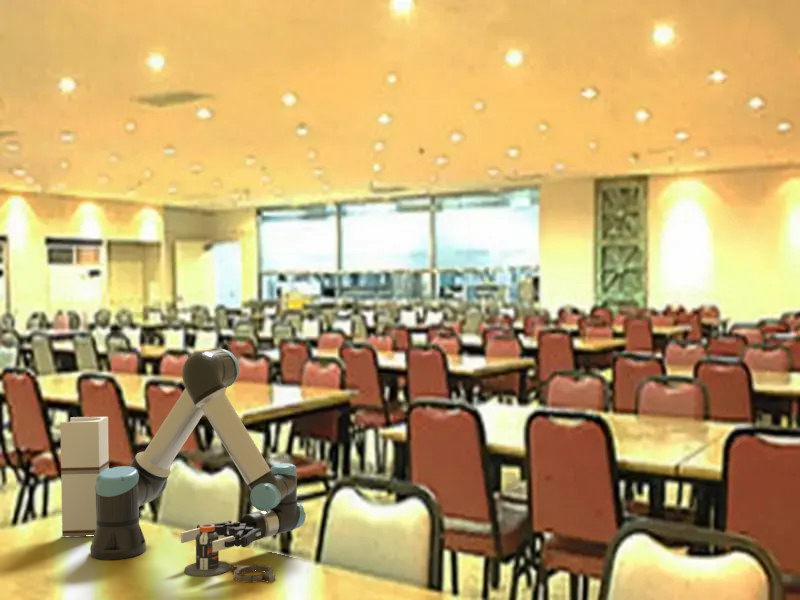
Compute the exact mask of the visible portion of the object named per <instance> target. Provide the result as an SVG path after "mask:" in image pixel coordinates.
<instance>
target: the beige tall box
mask: <svg viewBox="0 0 800 600" xmlns="http://www.w3.org/2000/svg"><path fill="white" fill-rule="evenodd" d="M59 424H60V426H59V427H60V428H59V429H60V431H59V432H60V475H61V476H60V477H61V483H60V484H61V537H62V536H86V535H94V534H95V530H96V491H95V485H96V478H97V476H98V474H99V473H101V472H102V471H104V470H106V469H109V468H110V461H109V456H110V454H109V453H110V451H109V416H90V417H89V416H76V417H75V416H73V417H70V421H60V423H59Z"/></svg>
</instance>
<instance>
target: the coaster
mask: <svg viewBox="0 0 800 600" xmlns="http://www.w3.org/2000/svg"><path fill="white" fill-rule="evenodd" d="M229 569H231V564H230V563H229V562H226V561H222V560H219V565H218V567H217V568H216V569H213V570H199V569H197V568H196V562H194V563H190V564H189V565H186V566H185V567H184V573H185V574H186V575H188V576H193V577H212V575H214V576H218V574H219V575H222V573H223V574H225V573H227V572H228V570H229ZM229 571H230V570H229ZM224 572H225V573H224Z"/></svg>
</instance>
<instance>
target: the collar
mask: <svg viewBox="0 0 800 600" xmlns="http://www.w3.org/2000/svg"><path fill="white" fill-rule="evenodd" d="M255 570H256V571H255ZM233 571H234V572H233ZM248 571H253V572H260V571H265V572H266V573H265V572H262V573H261V574H260V573H259V574H253V575H252V574H245V573H244V572H246V573H249V572H248ZM232 572H233V579H234V580H235V579H237V580H236V581H238V580H239V581H238V582H241V581H245V582H244V583H254V582H253V581H258V582H266V581H268V582H267V583H269V582H270V583H272V582H271V581H273V580H275V581H276V574H274V569H273V567H272V566H269V565H266V564H249V565H242V564H235V565H232ZM242 573H243V574H242ZM262 580H264V581H262ZM273 582H274V581H273Z"/></svg>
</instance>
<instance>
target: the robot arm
mask: <svg viewBox="0 0 800 600" xmlns="http://www.w3.org/2000/svg"><path fill="white" fill-rule="evenodd" d="M181 371H182V373H181V378H182V381H183V384H184V389H183V391H182V392H181V394H180V396H179V397H178V399H177V401H176V402H175V404H174V405H173V407H172V408H171V410H170V411H169V413H168V414H167V416H166V417H165V418H164V421H163V422H162V424H161V425H160V427H159V428H158V430H157V431H156V433H155V434H154V436H153V438H152V439H151V440H150V442H149V444H148V445H147V447H146V449H145V450H144V451H140V452H138V453H136V454H135V456H134V458H133V459H132V460H131V463H129V466H128V465H127V466H125V465H122V466H114V467H112V468H110V467H109V469H106V470H104V471H102V472H101V473H99V474H98V476H97V478H96V485H95V491H96V530H95V534H94V537H92V540H91V541H92V542H91V544H90V547H89V550H90V553H89V554H90V556H91V557H92V558H94V559H97V560H111V561H112V560H121V559H128V558H129V559H130V558H134V557H137V556H139V555H141V554H143V553H145V552H146V550H147V548H146V547H147V546H146V545H147V544H146V543H147V542H146V539H145V537H144V534H143V530H142V528H141V525H140V509H139V508H140V507H141V506H144V505H145V504H149V503H150V502H153V501H155V500H156V499H157V498H159V497H160V496H162V494H163V493H164V491H165V490H166V488H167V486H168V485H167V484H168V478H169V476H170V475H171V472H172V471H171V468H170V466H171V465H172V463H173V461H174V460H175V458H176V457H177V455H178V454H179V452H180V451H181V449H182V448H183V446H184V444H185V443H186V442H187V440H188V438H189V436H190V435H191V434H192V432H193V430H194V429H195V428H196V426H197V425H198V423H199V422H200V421H201V420H200V419H202V417H203V415H205V416H206V419H207V420H208V422H209V423H210V425H211V427H212V428H213V429H214V432H215V433H216V435H217V436H218V439H219V440H220V441H221V443H222V445H223V446H224V448H225V450H226V452H227V453H228V455H229V456H230V458H231V460H232V461H233V463H234V465H235V466H236V468H237V470H238V471H239V473H240V475H241V477H242V478H243V480H244V482H245V483H246V485H247V486H248V488H249V490H250V493H249V494H250V496H249V497H250V498H249V499H250V504H251V505H252V506H253V508H255V509H256V510H258V511H257V512H251V513H247V514H245V515H243V516H242V518H241V519H240V521H234V522H232V521H231V520H228V521H223V522H217V523H216V522H215V523H212V524H213V525H215V532H216V533H217V534H218V536H224V538H223V537H222V538H219V540H215V541H212V547H213V552H217V551H224V550H227V549H230V548H234V547H240V546H241V548H246V547H248V546H249V545H250V544H252V543H253V542H255V541H259V540H261V539H267V538H269V537H273V536H275V535H279V534H282V533H286V532H291V531H293V530H296V529H298V528H300V527H302V526H303V525H304V524H305V521H306V516H307V515H306V512H305V508H304V506H303V505H302V503H299V502H298V489H297V488H298V486H297V485H298V483H297V482H298V480H297V479H298V475H297V466H296V465H295V464H292V463H285V462H283V463H282V462H281V463H275V464H272V465H271V467H270V466H269V464H268V463H267V461H266V459H265V458H264V457H263V454H262V453H261V451H260V450H259V448H258V447H257V445H256V443H255V441H254V440H253V438H252V436H251V434H250V433H249V431H248V430H247V428H246V427H245V425H244V423H243V422H242V419H241V418H240V417H239V414H238V413H237V412H236V409H235V408H234V406H233V404H232V403H231V402H230V400H229V398H228V396H227V395H226V393H227V392H226V391H227V388H229V387H231V386H232V385H233V384H234V383H235V382H236V381H237V379H238V378H239V376H240V375H239V374H240V364H239V361H238V359H237V357H236V356H235V355H234V354H233V353H232V352H231V351H229V350H226V349H223V348H212V349H209V350H203V351H197V352H194V353H193V354H191V355H190V356H189V357H188V358H186V360H185V361H184V364H183V367H182V370H181ZM200 525H201V524H197V525H196V528H193V529H190V530H187V531H186V530H185V531H182V532H180V543H181V544H184V543H188V542H192V541H196V535H197V534H198V533H200V531H199V528H200Z"/></svg>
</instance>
